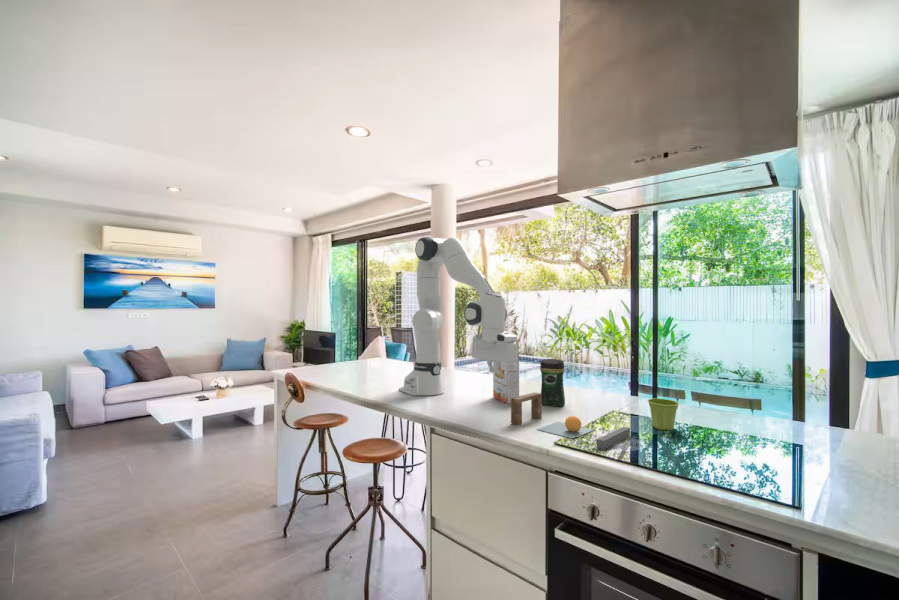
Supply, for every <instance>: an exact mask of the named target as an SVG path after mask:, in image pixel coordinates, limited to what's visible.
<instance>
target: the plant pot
mask: <svg viewBox="0 0 899 600" xmlns="http://www.w3.org/2000/svg"><path fill="white" fill-rule="evenodd" d="M647 402H648V406H649V408H650V415H651V423H652V427H654V428H655V429H656V430H661V431H665V430H668V431H672V430H674V428H675V423H676V421H675V420H676V414H677V410H678V407H679V406H680V402H678V401H676V400H673V399H665V398H649V399H647Z"/></svg>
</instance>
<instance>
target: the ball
mask: <svg viewBox="0 0 899 600" xmlns="http://www.w3.org/2000/svg"><path fill="white" fill-rule="evenodd" d="M564 423H565V426H566V428H567V429H568V430H569V431H570V432H577V431H579V430H580V428H581V427H582V421H581V420H580V418H579V417H577V416H576V415H570V416H568V417H566V419H565V422H564Z"/></svg>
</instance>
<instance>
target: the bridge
mask: <svg viewBox="0 0 899 600" xmlns="http://www.w3.org/2000/svg"><path fill="white" fill-rule="evenodd" d="M528 401H531V402H530V403H531V407H530V408H531V415H530V416H531V418H532V417H533V418H534V419H537V420H539V419H542V417H543V416H542V411H543V409H542V408H543V407H542V406H543V404H542V394H541V392H534V391H533V392H531V393H527V394H522V395H519V396H518V397H514V398H511V404H510V424H511V423H512V424H511V425H514V424H515V425H514V426H518V425H519V426H521V424H523V409H522V408H523V402H528ZM533 418H532V419H533Z"/></svg>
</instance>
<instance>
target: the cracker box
mask: <svg viewBox="0 0 899 600" xmlns="http://www.w3.org/2000/svg"><path fill="white" fill-rule="evenodd" d="M492 364H493V367H494V366H495V364H494V361H493V363H492ZM492 373H493V372H492ZM492 375H493V377H492V379H493V380H492V391H493V392H492V394H493V395H492V396H493V398H495V399H496V400H499V401H501V402H503V403H504V402H505V404H506V403H507V405H511V398H514V397H518V396H520V353H519V352H518V360H517V361H516V362H513V363H509V362H501V364H500V366H499V368H498V373H493V374H492Z"/></svg>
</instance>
